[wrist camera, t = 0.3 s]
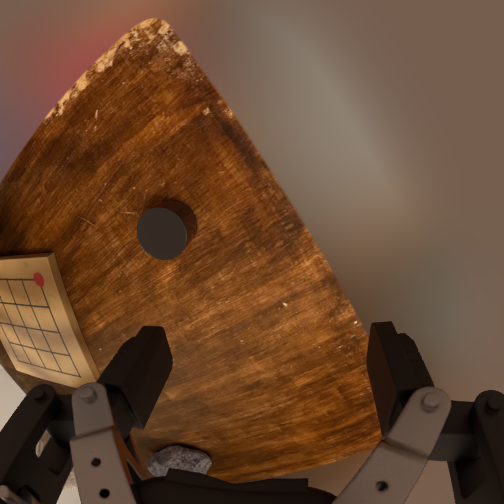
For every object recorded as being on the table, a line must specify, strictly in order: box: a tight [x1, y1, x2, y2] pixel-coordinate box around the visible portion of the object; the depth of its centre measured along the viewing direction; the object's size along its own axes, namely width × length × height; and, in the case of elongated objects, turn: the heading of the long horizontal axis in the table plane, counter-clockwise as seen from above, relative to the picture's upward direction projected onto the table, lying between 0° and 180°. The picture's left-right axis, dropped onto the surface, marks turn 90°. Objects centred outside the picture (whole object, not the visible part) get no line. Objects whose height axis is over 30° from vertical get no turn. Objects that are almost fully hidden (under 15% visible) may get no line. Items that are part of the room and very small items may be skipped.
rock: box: [147, 445, 212, 477], centre depth 43 cm, size 12×5×10 cm
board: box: [0, 252, 101, 388], centre depth 37 cm, size 22×22×2 cm
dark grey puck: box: [137, 200, 197, 260], centre depth 28 cm, size 5×5×3 cm
